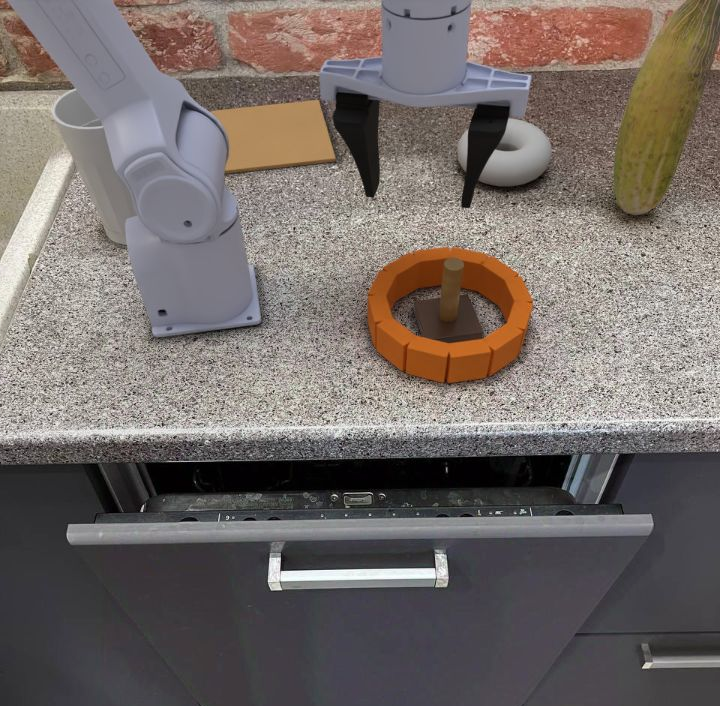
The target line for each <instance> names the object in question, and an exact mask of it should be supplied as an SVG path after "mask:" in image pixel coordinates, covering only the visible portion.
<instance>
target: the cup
mask: <svg viewBox="0 0 720 706" xmlns="http://www.w3.org/2000/svg"><path fill="white" fill-rule="evenodd" d="M50 112H51V116H52V118H53V120H54V122H55V125H56V127H57V129H58V131H59V133H60V135H61V138H62V139H63V141H64V143H65V145H66V147H67V150H68V152H69V154H70V156H71V158H72V160H73V163H74V165H75V167H76V170H77V171H78V174H79V176H80V178H81V180H82V182H83V185H84V186H85V189H86V191H87V193H88V195H89V197H90V199H91V202H92V204H93V206H94V208H95V210H96V213H97V215H98V217H99V219H100V221H101V223H102V227H103V230H104V232H105V235H106V237H107V238H108V239H109V240H111V241H112V242H114V243H116V244H120V245H123V246H127V242H126V233H125V222H126V219H127V218H130V217H134V216H137V214H136V211H135V209H134V205H133V200H132V196H131V194H130V191H129V189H128V187H127V186H126V184H125V183H124V182H123V180H122V179H121V178H120V177H119V175H118V174H117V173H116V171H115V169H114V166H113V162H112V158H111V154H110V151H109V147H108V143H107V139H106V135H105V131H104V128H103V125H102V122H101V121H100V120H99V118H98V117H97V116H96V114H95V113H94V112H93V111H92V109H91V108H90V107H89V105H88V104H87V103H86V102H85V100H84V99H83V98H82V96H81V95H80V94H79V93H78V91H77V90H76V89H75V88H73V89H70V90H69V91H67V92H65V93H63V94H62V95H60V96H59V97H57V99H56V100H55V101H54V103H53V104H52V107H51V111H50Z"/></svg>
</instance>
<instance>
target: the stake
mask: <svg viewBox="0 0 720 706" xmlns="http://www.w3.org/2000/svg"><path fill="white" fill-rule="evenodd" d="M463 268H464V263H463V261H462V260H460V259H458V258H449V259H447V260H446V261H445V262H444V268H443V278H442V285H441V288H440V297H436V298H428V299H420V300H414V301H413V302H412V311H413V314H414V317H415V320H416V324H417V327H418V329H419V332H420V335H421V336H420V337H424V338H428V339H432V340H436V341H441V342H445V343H456V342H463V341H470V340H478V339H483V336H484V330H483V328H482V325H481V323H480V320H479V317H478V316H477V313H476V310H475V308H474V306H473V303H472V301H471V299H470V296H469V294H468V293H466V294H465V293H464V294H461V289H462V288H461V283H462V276H463Z"/></svg>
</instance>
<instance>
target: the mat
mask: <svg viewBox="0 0 720 706" xmlns="http://www.w3.org/2000/svg"><path fill="white" fill-rule="evenodd" d="M209 112H211V113H212V114H213V115H214V116H215V117H216V118H217V119H218V120H219V121H220V122H221V124H222V125H223V127H224V129H225V131H226V133H227V136H228V140H229V147H230V149H229V157H228V160H227V163H226V166H225V173H224V175H228V174H237V173H245V172H254V171H263V170H272V169H281V168H290V167H299V166H300V167H301V166H306V165H307V166H308V165H317V164H326V163H327V164H328V163H334V162H336V161H337V158H336V154H335V150H334V148H333V144H332V140H331V138H330V134H329V130H328V127H327V124H326V120H325V116H324V113H323V110H322V107H321V102H320V100H319V99H313V100H312V99H311V100H302V101H292V102H283V103H273V104H265V105H254V106H244V107H236V108H225V109H216V110H210V111H209Z"/></svg>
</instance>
